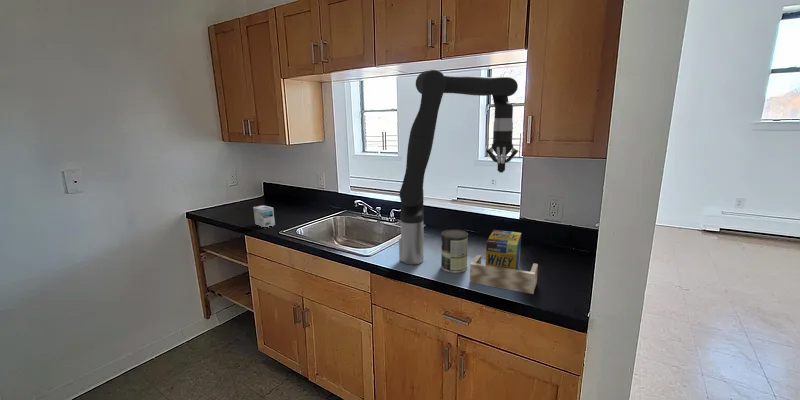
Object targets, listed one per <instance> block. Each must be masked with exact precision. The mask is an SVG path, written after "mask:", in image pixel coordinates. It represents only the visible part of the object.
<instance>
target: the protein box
mask: <svg viewBox="0 0 800 400" xmlns="http://www.w3.org/2000/svg"><path fill="white" fill-rule="evenodd" d="M521 240H522V232H517V231H508V230H502V229H501V230H500V229H493V230H492V231H491V234H490V235H489V237H488V239H487V240H486V242H485V243H486V244H485V246H486V247H485V265H490V266H496V267H503V268H509V269H515V270H520V265H521V264H520V263H521V262H520V261H521V260H520V258H521V246H522V241H521Z"/></svg>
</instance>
